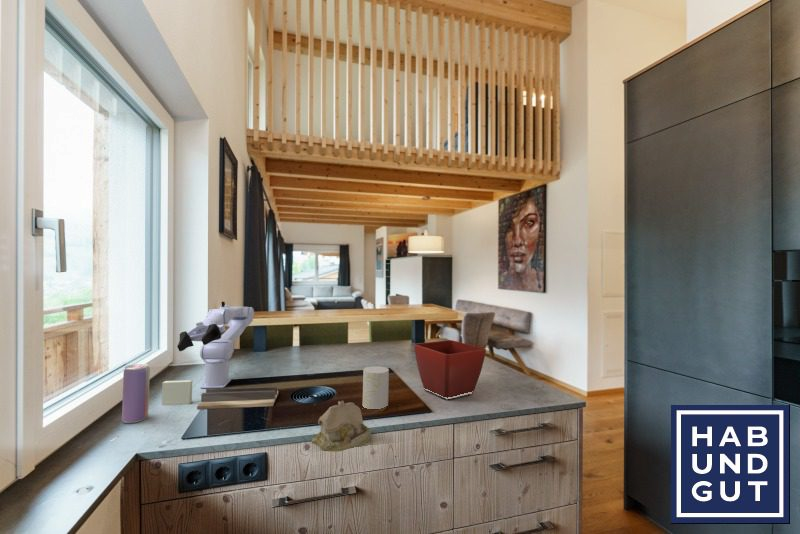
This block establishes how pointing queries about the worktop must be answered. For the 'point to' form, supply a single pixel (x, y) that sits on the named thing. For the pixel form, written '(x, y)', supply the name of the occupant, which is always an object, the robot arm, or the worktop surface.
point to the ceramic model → (341, 428)
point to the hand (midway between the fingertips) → (191, 345)
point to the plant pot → (449, 366)
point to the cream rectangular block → (176, 392)
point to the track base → (238, 397)
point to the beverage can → (135, 393)
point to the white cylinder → (375, 387)
